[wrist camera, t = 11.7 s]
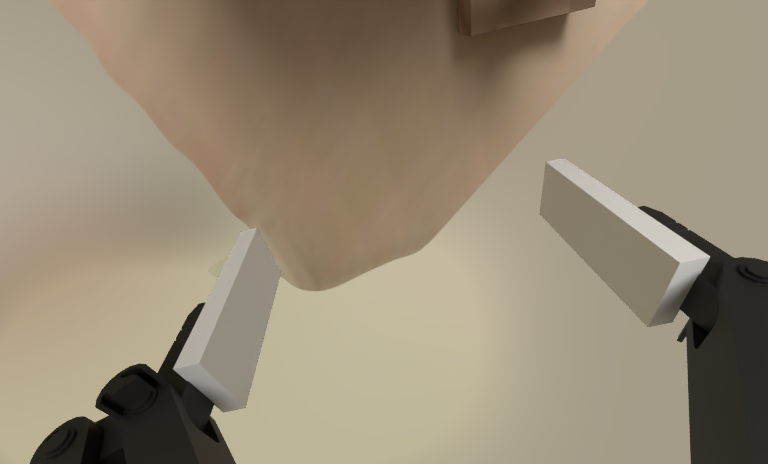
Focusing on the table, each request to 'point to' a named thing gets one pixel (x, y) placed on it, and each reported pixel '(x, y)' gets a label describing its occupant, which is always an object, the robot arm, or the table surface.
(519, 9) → the slot block
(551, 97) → the table surface
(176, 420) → the robot arm
